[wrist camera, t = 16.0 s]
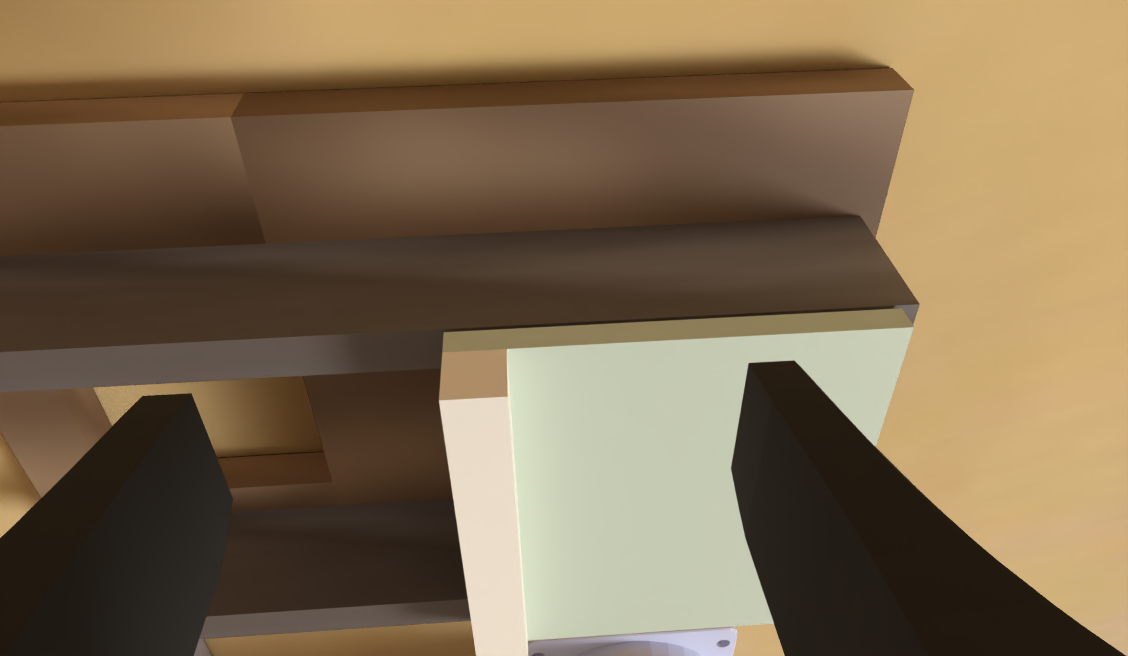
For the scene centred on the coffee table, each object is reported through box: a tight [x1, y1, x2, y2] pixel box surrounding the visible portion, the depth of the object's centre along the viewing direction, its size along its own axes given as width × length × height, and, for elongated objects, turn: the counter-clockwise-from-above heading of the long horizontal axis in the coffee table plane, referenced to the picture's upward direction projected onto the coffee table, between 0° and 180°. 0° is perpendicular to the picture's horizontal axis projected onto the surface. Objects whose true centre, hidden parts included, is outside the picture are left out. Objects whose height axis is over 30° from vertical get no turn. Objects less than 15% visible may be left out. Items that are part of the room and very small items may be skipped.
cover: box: [439, 308, 914, 656], centre depth 19 cm, size 10×9×2 cm
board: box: [0, 68, 920, 639], centre depth 21 cm, size 16×22×5 cm
